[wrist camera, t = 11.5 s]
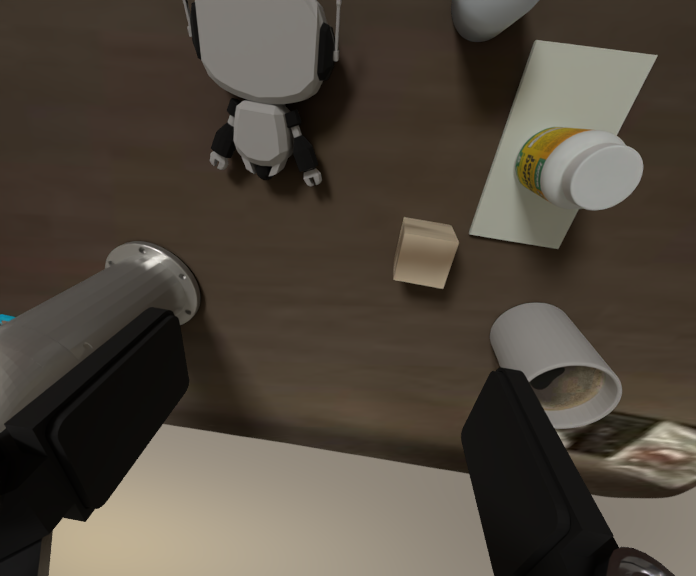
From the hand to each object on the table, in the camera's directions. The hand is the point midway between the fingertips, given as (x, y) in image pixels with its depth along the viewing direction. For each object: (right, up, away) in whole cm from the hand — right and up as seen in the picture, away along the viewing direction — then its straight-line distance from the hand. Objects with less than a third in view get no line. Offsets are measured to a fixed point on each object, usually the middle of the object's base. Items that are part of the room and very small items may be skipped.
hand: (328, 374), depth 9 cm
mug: (+22, -4, +29) cm, 36 cm away
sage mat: (+19, +14, +19) cm, 30 cm away
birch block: (+9, +8, +24) cm, 27 cm away
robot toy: (-6, +21, +20) cm, 29 cm away
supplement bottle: (+18, +14, +19) cm, 30 cm away
